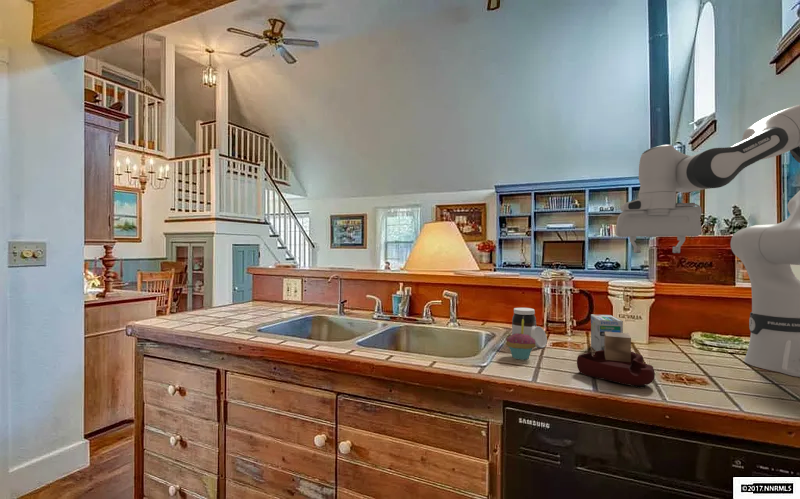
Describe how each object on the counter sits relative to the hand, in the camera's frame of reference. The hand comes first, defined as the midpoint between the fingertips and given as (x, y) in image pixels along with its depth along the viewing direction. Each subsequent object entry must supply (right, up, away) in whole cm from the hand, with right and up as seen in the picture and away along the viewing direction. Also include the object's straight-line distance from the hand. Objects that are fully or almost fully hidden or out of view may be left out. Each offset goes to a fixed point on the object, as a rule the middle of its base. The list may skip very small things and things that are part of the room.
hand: (656, 252), depth 112 cm
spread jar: (-29, -31, +21) cm, 48 cm away
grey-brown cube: (-17, -27, -11) cm, 34 cm away
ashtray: (-18, -32, -10) cm, 38 cm away
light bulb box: (-8, -31, +12) cm, 35 cm away
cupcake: (-37, -31, +6) cm, 49 cm away
